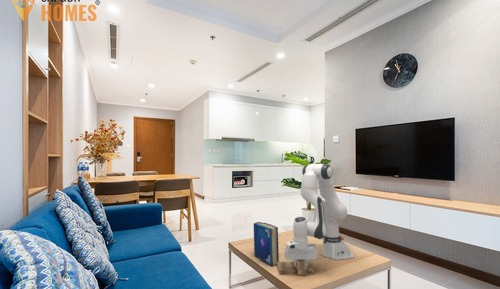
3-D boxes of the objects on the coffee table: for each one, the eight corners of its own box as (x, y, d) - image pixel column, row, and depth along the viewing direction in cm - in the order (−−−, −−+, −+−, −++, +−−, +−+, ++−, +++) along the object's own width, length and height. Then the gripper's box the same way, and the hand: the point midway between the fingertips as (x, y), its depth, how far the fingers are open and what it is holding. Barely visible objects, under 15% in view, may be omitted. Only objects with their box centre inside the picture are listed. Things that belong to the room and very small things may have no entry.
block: (303, 269, 150) (303, 257, 151) (306, 275, 143) (306, 263, 143) (295, 269, 150) (295, 258, 150) (298, 275, 143) (298, 263, 143)
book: (252, 255, 172) (252, 221, 173) (260, 253, 176) (259, 220, 177) (271, 267, 154) (271, 229, 156) (279, 264, 159) (278, 227, 160)
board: (309, 265, 157) (309, 261, 157) (314, 274, 145) (314, 270, 145) (276, 265, 156) (276, 261, 157) (279, 274, 144) (279, 270, 145)
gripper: (315, 241, 151) (315, 263, 150) (283, 242, 150) (284, 264, 150) (318, 245, 145) (318, 268, 144) (285, 246, 144) (285, 268, 143)
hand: (300, 266), depth 147 cm, fingers closed on block, 5 cm apart
